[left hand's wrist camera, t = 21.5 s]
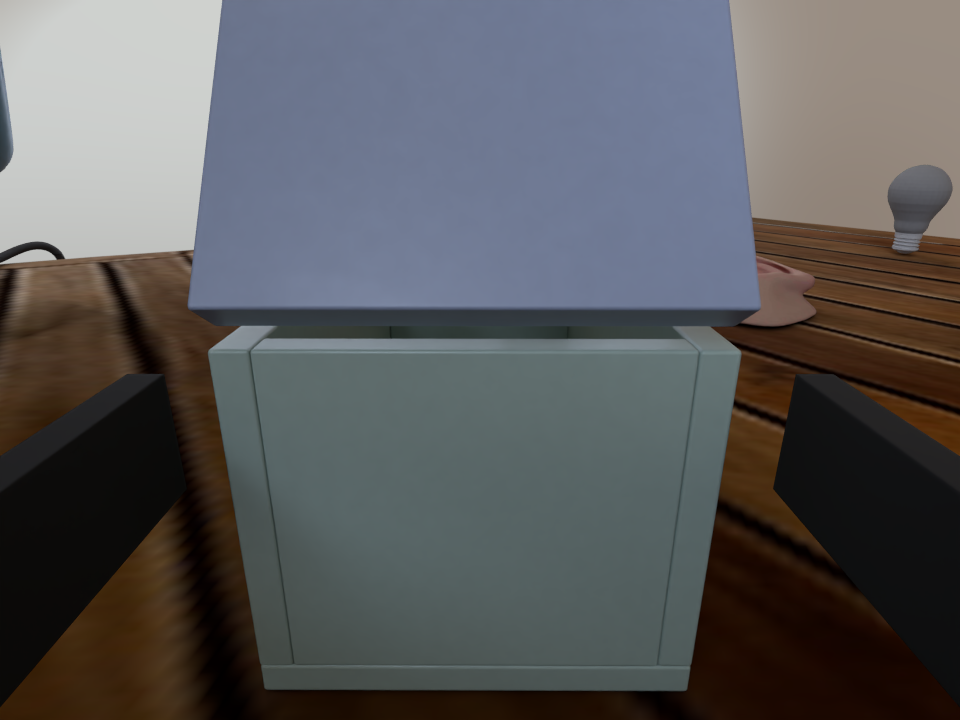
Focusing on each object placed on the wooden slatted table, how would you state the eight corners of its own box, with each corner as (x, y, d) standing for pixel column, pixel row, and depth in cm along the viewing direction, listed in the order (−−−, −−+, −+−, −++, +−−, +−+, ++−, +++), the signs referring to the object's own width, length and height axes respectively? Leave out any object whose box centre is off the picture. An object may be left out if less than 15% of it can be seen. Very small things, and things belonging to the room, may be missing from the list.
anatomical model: (827, 276, 38) (650, 261, 44) (815, 334, 40) (645, 312, 45) (825, 247, 49) (684, 238, 55) (816, 293, 51) (679, 280, 56)
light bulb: (886, 256, 68) (908, 165, 65) (866, 247, 74) (885, 164, 70) (945, 258, 67) (970, 165, 63) (920, 249, 72) (942, 164, 69)
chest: (380, 399, 30) (370, 229, 27) (577, 400, 30) (588, 229, 27) (263, 692, 14) (205, 350, 11) (687, 692, 14) (743, 350, 11)
